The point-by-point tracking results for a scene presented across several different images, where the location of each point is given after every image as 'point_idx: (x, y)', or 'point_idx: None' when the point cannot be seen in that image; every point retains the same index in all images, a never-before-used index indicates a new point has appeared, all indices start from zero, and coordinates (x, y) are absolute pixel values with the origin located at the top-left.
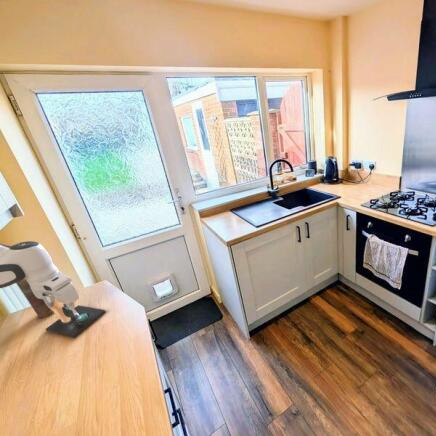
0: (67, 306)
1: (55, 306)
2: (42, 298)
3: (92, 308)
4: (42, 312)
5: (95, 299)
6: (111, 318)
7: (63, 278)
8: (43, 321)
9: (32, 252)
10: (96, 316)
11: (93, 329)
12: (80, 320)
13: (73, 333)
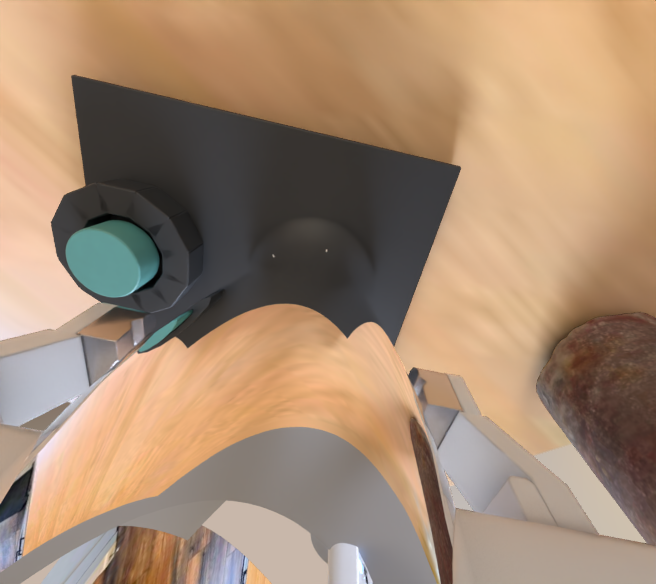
0: (110, 348)
1: (152, 333)
2: (635, 580)
3: None
4: (629, 343)
5: None
6: (16, 276)
7: None
8: (577, 275)
9: None
10: None
11: (36, 177)
12: (96, 224)
13: (96, 103)
